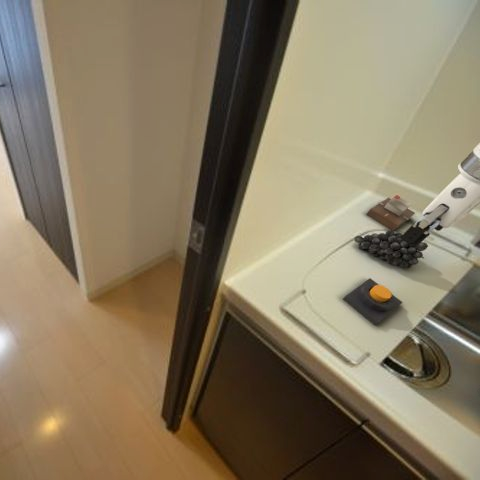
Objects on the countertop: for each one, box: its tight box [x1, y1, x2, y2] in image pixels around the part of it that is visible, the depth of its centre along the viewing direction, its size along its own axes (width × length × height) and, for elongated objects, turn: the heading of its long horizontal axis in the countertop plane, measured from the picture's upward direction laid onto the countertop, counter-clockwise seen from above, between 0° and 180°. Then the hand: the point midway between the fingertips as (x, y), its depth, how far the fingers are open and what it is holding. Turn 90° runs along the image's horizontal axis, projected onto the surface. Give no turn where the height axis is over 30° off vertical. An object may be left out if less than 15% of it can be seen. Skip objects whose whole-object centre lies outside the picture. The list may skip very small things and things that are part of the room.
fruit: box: [353, 229, 429, 269], centre depth 85 cm, size 9×8×15 cm
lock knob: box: [384, 194, 412, 216], centre depth 94 cm, size 4×2×4 cm, turn 33°
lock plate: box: [365, 197, 416, 231], centre depth 96 cm, size 10×9×3 cm
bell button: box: [369, 284, 393, 302], centre depth 74 cm, size 4×4×2 cm
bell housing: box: [342, 277, 403, 326], centre depth 76 cm, size 10×8×4 cm
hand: (420, 234), depth 70 cm, fingers open, 9 cm apart
